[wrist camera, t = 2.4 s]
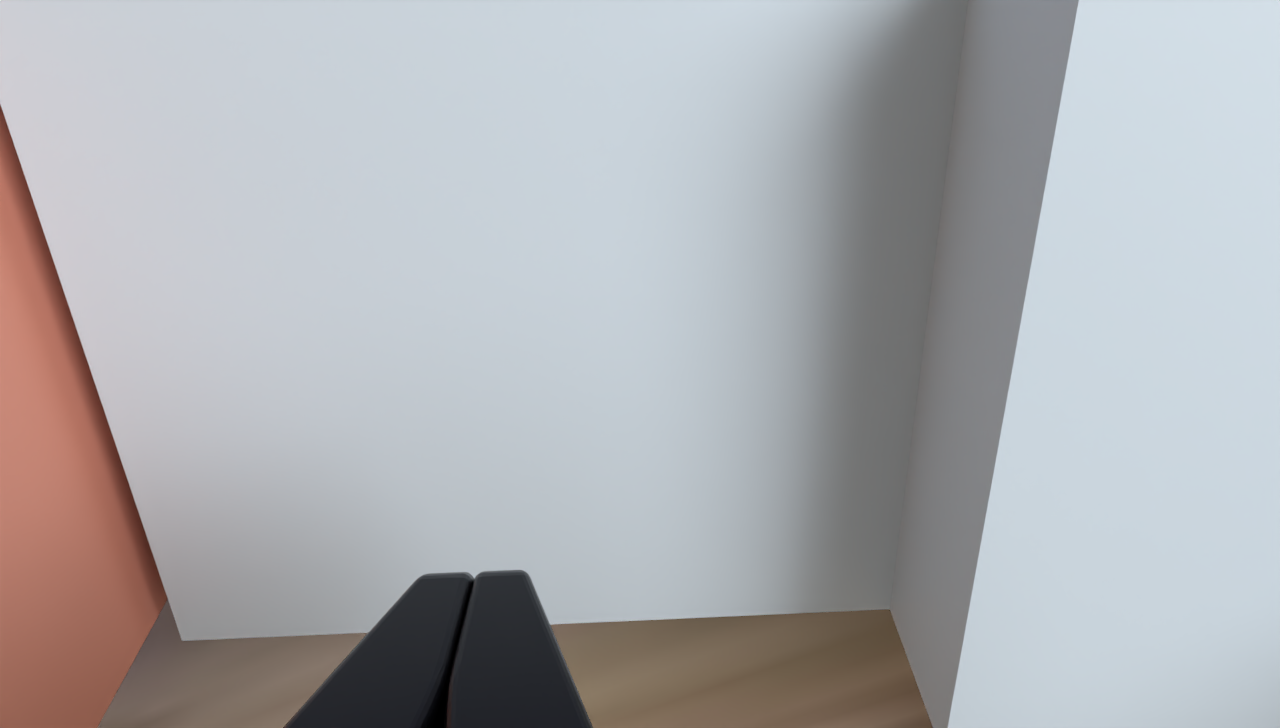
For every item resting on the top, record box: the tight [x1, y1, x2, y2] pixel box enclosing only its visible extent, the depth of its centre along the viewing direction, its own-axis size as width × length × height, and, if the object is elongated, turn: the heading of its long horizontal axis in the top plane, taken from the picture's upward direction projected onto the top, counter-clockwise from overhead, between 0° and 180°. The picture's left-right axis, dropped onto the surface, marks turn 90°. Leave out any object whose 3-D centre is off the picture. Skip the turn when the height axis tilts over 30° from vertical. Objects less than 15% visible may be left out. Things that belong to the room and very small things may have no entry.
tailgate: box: [0, 104, 168, 728], centre depth 12 cm, size 1×9×8 cm, turn 1°
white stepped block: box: [0, 0, 1280, 728], centre depth 13 cm, size 15×11×7 cm
